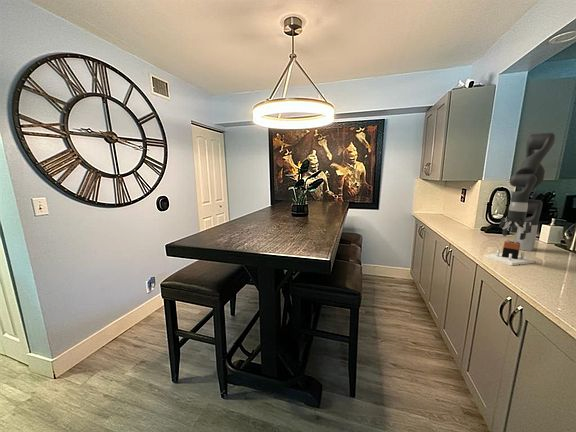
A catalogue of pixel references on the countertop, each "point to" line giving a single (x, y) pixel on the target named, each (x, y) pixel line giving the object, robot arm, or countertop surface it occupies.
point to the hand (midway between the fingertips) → (512, 237)
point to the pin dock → (510, 259)
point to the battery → (511, 249)
